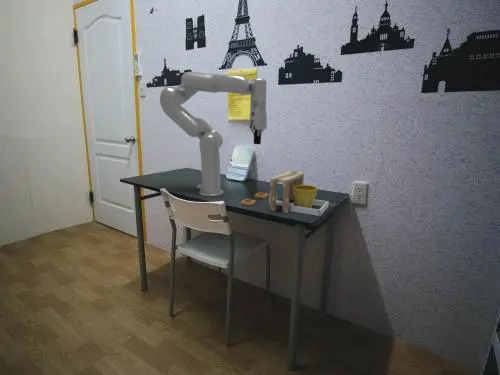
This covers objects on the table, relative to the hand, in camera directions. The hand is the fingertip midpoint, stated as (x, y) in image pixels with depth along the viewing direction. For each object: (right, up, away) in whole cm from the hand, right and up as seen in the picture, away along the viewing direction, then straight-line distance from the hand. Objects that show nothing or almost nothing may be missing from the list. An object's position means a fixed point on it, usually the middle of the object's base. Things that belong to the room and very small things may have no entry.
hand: (257, 143), depth 149 cm
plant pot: (+21, -31, -15) cm, 40 cm away
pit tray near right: (-4, -29, -9) cm, 31 cm away
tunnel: (+13, -30, -11) cm, 34 cm away
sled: (+18, -30, -13) cm, 37 cm away
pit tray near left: (+2, -26, +3) cm, 27 cm away
